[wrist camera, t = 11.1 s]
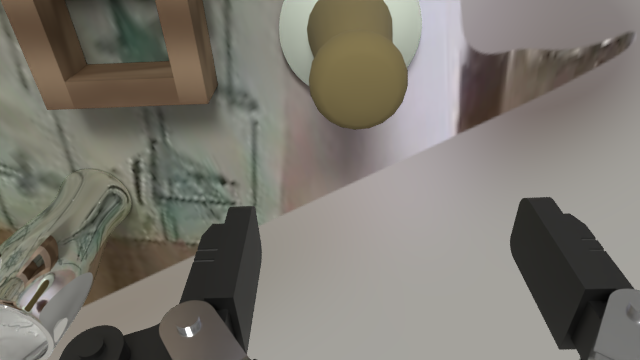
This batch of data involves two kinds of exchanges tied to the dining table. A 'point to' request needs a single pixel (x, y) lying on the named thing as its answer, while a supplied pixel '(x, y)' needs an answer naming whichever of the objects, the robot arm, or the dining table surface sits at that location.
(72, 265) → the beer glass
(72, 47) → the frame
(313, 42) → the olive pawn
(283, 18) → the coaster
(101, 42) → the dining table surface
